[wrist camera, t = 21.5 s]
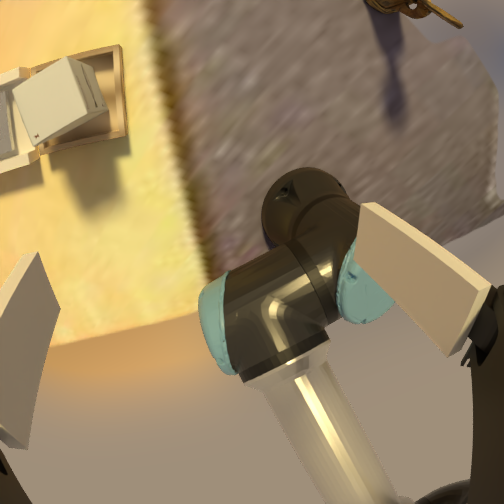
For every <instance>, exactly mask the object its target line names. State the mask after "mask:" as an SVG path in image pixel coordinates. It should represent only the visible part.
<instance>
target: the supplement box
mask: <svg viewBox="0 0 504 504" xmlns="http://www.w3.org/2000/svg"><path fill="white" fill-rule="evenodd" d="M12 93H13V96H14V99H15V102H16V105H17V108H18V110H19V113H20V116H21V119H22V122H23V124H24V126H25V129H26V131H27V133H28V136H29V138H30V141H31V143H32V146H33V147H36V146H38V145H40V144H42V143H44V142H46V141H49V140H51V139H53V138H56V137H58V136H60V135H63V134H65V133H67V132H69V131H71V130H73V129H75V128H76V127H78V126H80V125H82V124H84V123H86V122H88V121H90V120H91V119H93V118H95V117H97V116H99V115H101V114H103V113H105V112H107V111H108V110H109V109H108V107H107V104H106V102H105V100H104V98H103V95H102V93H101V90H100V87H99V84H98V82H97V79H96V76H95V73H94V69H93V67H92V66H89V65H87V64H85V63H82V62H80V61H77V60H75V59H72V58H70V57H67V56H65V57H64V58H62V59H60V60H59V61H57V62H55V63H54V64H52V65H50V66H49V67H47V68H45V69H43V70H42V71H40V72H39V73H37V74H35V75H34V76H32V77H31V78H29V79H27V80H26V81H24V82H23V83H21V84H20V85H18V86H17V87H16V88H14V89H13V90H12Z"/></svg>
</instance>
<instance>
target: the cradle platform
mask: <svg viewBox="0 0 504 504" xmlns="http://www.w3.org/2000/svg"><path fill="white" fill-rule="evenodd" d="M13 150H15V146H14V140H13V133H12V126H11V117H10V108H9V96H8V91H3V92H1V93H0V155H1V154H4V153H7V152H10V151H13Z"/></svg>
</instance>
